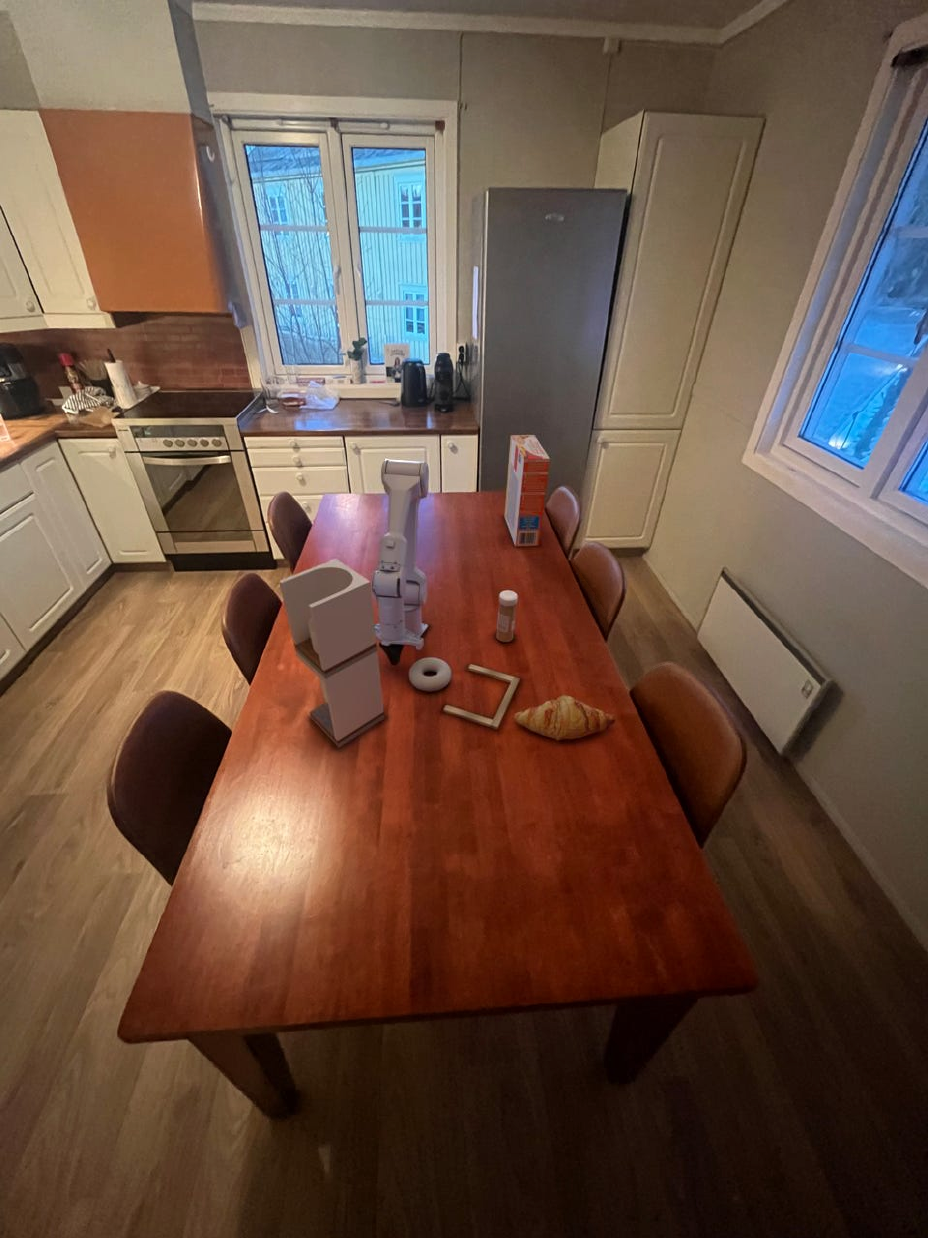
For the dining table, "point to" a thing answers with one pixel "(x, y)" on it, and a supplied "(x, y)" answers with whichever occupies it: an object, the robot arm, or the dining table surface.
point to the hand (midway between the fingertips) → (395, 662)
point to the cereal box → (526, 489)
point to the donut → (430, 682)
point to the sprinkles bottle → (506, 615)
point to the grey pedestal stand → (337, 645)
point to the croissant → (564, 719)
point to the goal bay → (504, 703)
